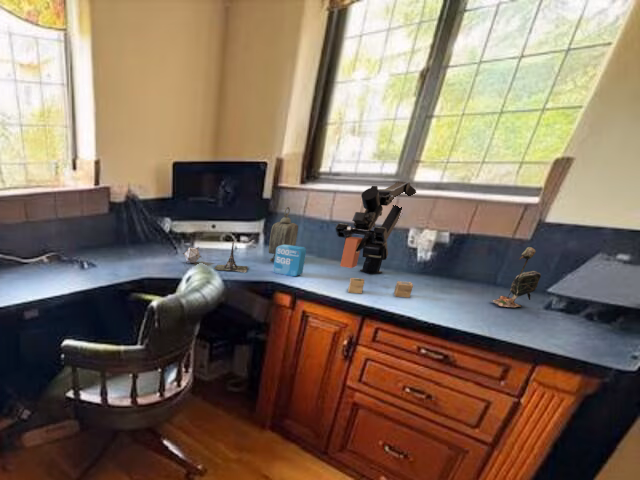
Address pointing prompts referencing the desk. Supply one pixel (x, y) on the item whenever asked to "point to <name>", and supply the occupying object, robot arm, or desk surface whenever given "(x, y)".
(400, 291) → the maple cube
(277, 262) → the data package
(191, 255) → the game die
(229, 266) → the eiffel tower figurine
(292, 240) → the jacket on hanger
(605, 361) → the desk surface
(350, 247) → the orange rectangular block
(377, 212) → the robot arm
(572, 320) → the desk surface
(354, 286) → the maple cube
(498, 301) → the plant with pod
